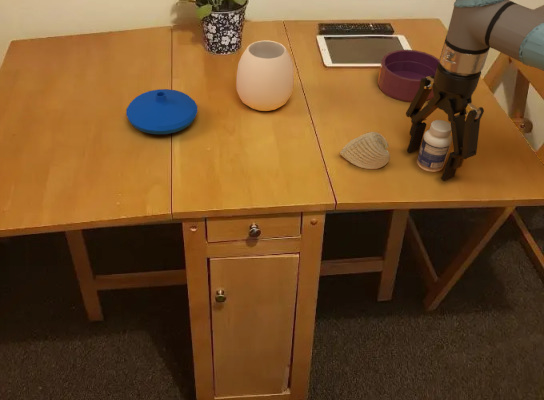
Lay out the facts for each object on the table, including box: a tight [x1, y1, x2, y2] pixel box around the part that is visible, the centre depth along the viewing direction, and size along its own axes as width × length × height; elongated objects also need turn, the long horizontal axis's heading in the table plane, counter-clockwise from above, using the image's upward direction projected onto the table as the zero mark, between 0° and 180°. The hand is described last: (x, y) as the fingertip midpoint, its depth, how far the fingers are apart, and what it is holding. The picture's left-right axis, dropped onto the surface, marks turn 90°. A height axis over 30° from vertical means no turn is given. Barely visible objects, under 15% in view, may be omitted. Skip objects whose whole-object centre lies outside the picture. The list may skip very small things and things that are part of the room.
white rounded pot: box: [235, 39, 295, 112], centre depth 132 cm, size 13×13×14 cm
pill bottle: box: [416, 119, 453, 173], centre depth 116 cm, size 5×5×10 cm
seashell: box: [339, 131, 391, 170], centre depth 119 cm, size 8×8×8 cm
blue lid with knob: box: [125, 88, 198, 135], centre depth 128 cm, size 16×16×7 cm
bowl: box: [377, 49, 440, 103], centre depth 139 cm, size 14×14×6 cm
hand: (430, 163), depth 119 cm, fingers open, 9 cm apart
